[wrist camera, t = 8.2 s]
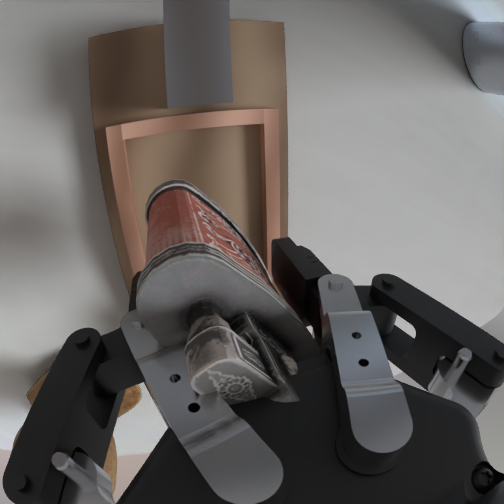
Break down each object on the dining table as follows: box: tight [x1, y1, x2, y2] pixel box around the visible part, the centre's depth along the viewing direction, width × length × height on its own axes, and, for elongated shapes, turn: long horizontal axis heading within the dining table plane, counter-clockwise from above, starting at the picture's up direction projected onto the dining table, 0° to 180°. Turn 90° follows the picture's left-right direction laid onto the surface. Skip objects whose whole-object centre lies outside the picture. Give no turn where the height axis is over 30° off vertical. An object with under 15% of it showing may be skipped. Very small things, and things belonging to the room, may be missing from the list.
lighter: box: [136, 179, 320, 405], centre depth 11 cm, size 8×3×10 cm, turn 34°
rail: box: [89, 0, 288, 302], centre depth 19 cm, size 13×26×8 cm, turn 1°
